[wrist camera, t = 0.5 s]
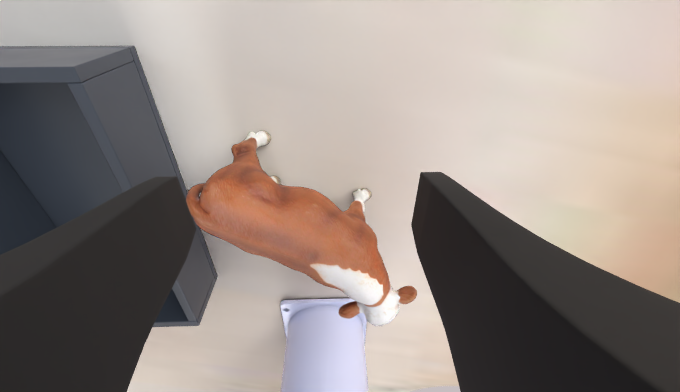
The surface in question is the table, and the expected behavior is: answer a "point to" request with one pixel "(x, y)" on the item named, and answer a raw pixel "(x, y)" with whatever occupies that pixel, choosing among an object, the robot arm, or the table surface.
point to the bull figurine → (298, 231)
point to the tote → (85, 151)
